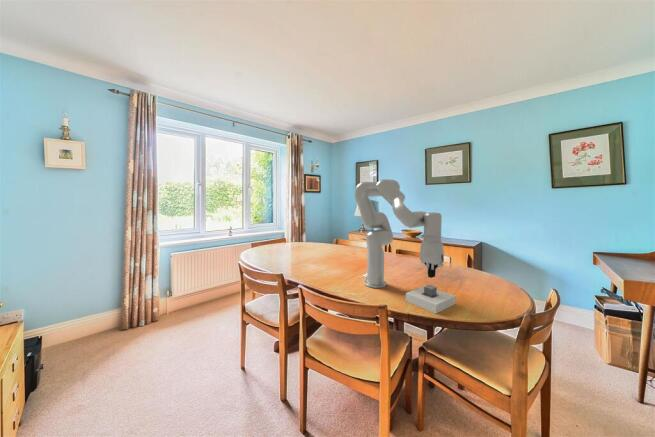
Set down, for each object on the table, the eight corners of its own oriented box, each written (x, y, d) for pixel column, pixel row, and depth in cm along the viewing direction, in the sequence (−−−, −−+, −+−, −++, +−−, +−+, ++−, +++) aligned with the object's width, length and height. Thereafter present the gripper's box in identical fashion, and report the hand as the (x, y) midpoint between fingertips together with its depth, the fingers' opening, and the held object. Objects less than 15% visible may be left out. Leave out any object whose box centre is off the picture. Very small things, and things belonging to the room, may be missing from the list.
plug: (423, 302, 120) (424, 286, 119) (428, 300, 122) (429, 284, 122) (431, 305, 117) (431, 288, 116) (436, 303, 119) (436, 286, 118)
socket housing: (405, 300, 122) (405, 293, 121) (425, 293, 131) (425, 285, 130) (435, 313, 109) (436, 304, 108) (455, 304, 118) (455, 295, 117)
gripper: (413, 237, 121) (413, 274, 122) (443, 242, 108) (442, 282, 110) (422, 236, 125) (422, 271, 127) (452, 240, 113) (451, 279, 114)
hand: (431, 276), depth 118 cm, fingers closed
